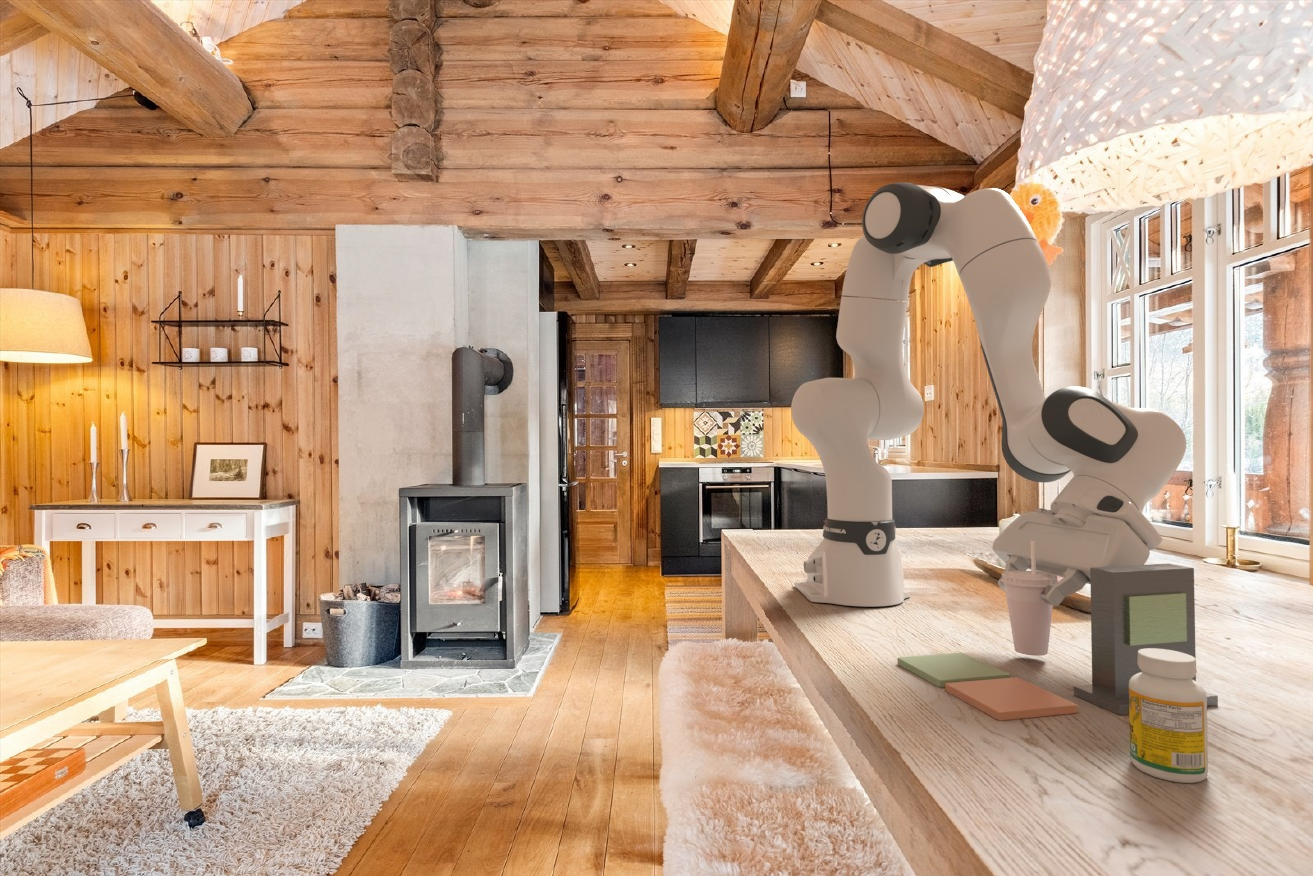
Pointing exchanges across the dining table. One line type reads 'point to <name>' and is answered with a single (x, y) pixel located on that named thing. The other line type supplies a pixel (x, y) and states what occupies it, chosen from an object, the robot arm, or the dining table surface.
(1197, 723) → the supplement bottle
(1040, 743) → the dining table surface
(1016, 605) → the smoothie
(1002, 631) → the dining table surface
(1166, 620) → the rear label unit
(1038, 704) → the terracotta pad
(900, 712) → the dining table surface
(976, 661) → the sage pad
